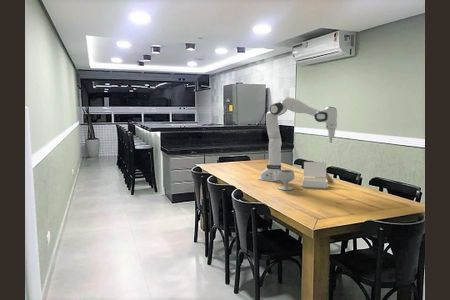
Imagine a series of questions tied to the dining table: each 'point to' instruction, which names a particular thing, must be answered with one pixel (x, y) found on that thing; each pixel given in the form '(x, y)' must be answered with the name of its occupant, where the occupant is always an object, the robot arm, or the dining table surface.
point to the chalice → (285, 178)
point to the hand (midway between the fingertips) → (330, 142)
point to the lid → (314, 169)
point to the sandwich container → (326, 177)
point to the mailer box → (315, 182)
